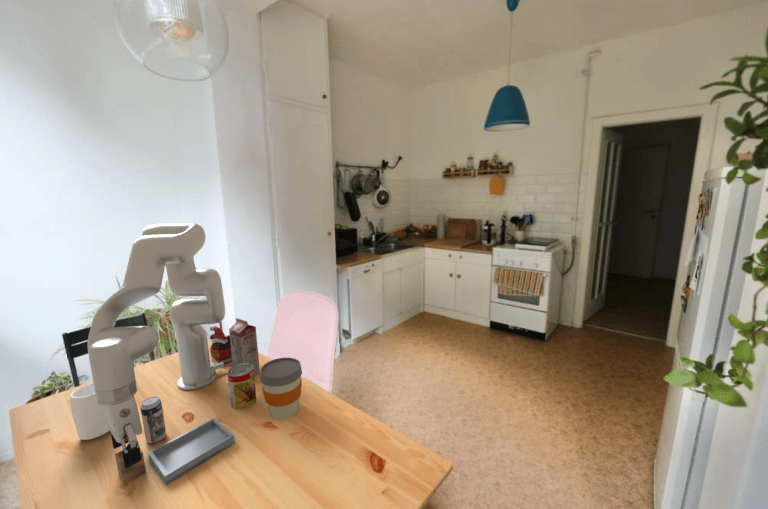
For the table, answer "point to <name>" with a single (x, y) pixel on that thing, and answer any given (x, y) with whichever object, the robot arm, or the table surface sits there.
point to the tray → (190, 449)
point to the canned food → (241, 386)
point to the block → (129, 468)
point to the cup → (88, 413)
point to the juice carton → (244, 344)
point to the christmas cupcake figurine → (220, 345)
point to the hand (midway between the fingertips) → (127, 454)
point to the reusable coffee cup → (281, 386)
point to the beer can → (153, 420)
